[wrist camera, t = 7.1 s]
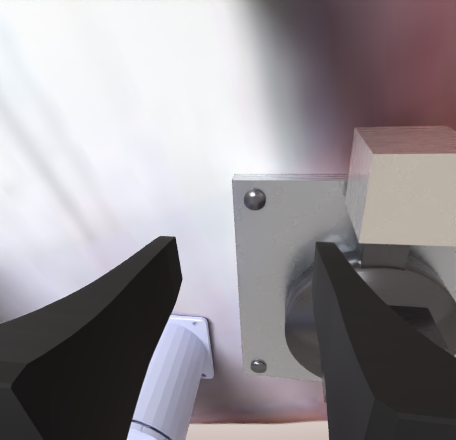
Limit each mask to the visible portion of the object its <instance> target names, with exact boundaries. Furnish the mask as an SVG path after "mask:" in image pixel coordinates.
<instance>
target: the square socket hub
mask: <svg viewBox="0 0 456 440" xmlns="http://www.w3.org/2000/svg"><path fill="white" fill-rule="evenodd" d="M345 204H346V207H347V210H348V213H349V216H350V219H351V221H352V224H353V227H354V230H355V233H356V236H357V243H356V249H355V250H353V251H348V252H343V253H342V254H343V255H344V256H345V258H346V259H347V260H348V262H349V263H350V264H351V265H352V267H353V268H354V269H355V270H356V272H357V273H358V274H359V275H360V276H361V278H362V279H363V280H364V281H365V282H366V283H367V284H368V286H369V287H370V288H371V289H372V290H373V291H374V292H375V293H376V294H377V295H378V296H379V297H380V298H381V299H382V300H383V301H384V302H385V303H386V304H387V305H388V306H389V307H390V308H391V309H392V310H394V311H395V312H396V313H397V314H398V315H399V316H400V317H402V318H403V319H404V320H405V321H406V322H407V323H409V324H410V325H411V326H412V327H414V328H415V329H416V330H418V331H419V332H420V333H422V334H423V335H424V336H426V337H427V338H428V339H430V340H431V341H432V342H434V343H435V344H437V345H438V346H439V347H441V348H442V349H444V350H445V351H447V352H448V353H450V354H451V355H453V356H455V354H456V302H455V300H454V299H453V297H452V295H451V294H450V292H449V291H448V289H447V287H446V286H445V284H444V283H443V281H442V279H441V278H440V277H439V276H438V275H437V273H436V272H435V271H433V270H432V269H431V268H430V267H429V266H427V265H426V264H424V263H423V262H421V261H419V260H417V259H415V258H413V257H411V256H408V254H409V251H410V247H411V245H427V246H455V247H456V131H455V130H453V129H451V128H449V127H448V126H400V127H355V128H354V136H353V144H352V151H351V159H350V167H349V174H348V182H347V190H346V197H345ZM313 267H314V265H312V266H310V267H309V268H308V269H307V270H305V271H304V272H303V273H302V274H301V275H300V276H299V277H298V278H297V279H296V280H295V282H294V283H293V284H292V286H291V288H290V290H289V292H288V294H287V298H286V302H285V339H286V343H287V346H288V348H289V350H290V352H291V354H292V355H293V357H294V358H295V359H296V360H297V361H298V363H299V364H301V365H302V366H303V367H304V368H305V369H307V370H308V371H309V372H311V373H312V374H314V375H316V376H318V377H320V378H322V382H323V392H324V402H327V401H326V388H325V379H324V371H323V365H322V359H321V354H320V348H319V342H318V337H317V331H316V325H315V319H314V314H313V300H312V279H313Z"/></svg>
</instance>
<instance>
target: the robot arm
mask: <svg viewBox="0 0 456 440" xmlns="http://www.w3.org/2000/svg"><path fill="white" fill-rule="evenodd" d="M181 283H182V273H181V267H180V261H179V256H178V250H177V244H176V238H175V237H169V236H160V237H158V238H156V239H155V240H153V241H152V242H151V243H149V244H148V245H146V246H145V247H144V248H142V249H141V250H140V251H138V252H137V253H135V254H134V255H133V256H131V257H130V258H129V259H127V260H126V261H124V262H123V263H122V264H120V265H119V266H117V267H116V268H114V269H112V270H111V271H109V272H108V273H106V274H105V275H103V276H102V277H100V278H99V279H97V280H95V281H94V282H92V283H90V284H89V285H87V286H85V287H83V288H82V289H80V290H78V291H76V292H74V293H72V294H70V295H68V296H67V297H64V298H62V299H60V300H58V301H56V302H54V303H52V304H49V305H47V306H45V307H43V308H41V309H39V310H36V311H34V312H31V313H29V314H26V315H24V316H21V317H19V318H16V319H14V320H11V321H8V322H6V323H3V324H0V440H185V438H186V434H187V431H188V427H189V423H190V419H191V415H192V411H193V407H194V403H195V399H196V395H197V391H198V387H199V383H200V379H201V378H204V379H212V378H213V377H214V368H213V360H212V352H211V345H210V337H209V329H208V322H207V320H206V319H205V318H203V317H191V316H178V315H171V313H172V310H173V308H174V306H175V303H176V300H177V297H178V294H179V290H180V286H181ZM312 300H313V314H314V319H315V325H316V331H317V337H318V342H319V348H320V354H321V359H322V365H323V371H324V379H325V388H326V401H327V414H328V428H329V440H456V357H454V356H453V355H451V354H450V353H448V352H447V351H445V350H444V349H442V348H441V347H439V346H438V345H437V344H435V343H434V342H432V341H431V340H430V339H428V338H427V337H426V336H424V335H423V334H422V333H420V332H419V331H418V330H416V329H415V328H414V327H412V326H411V325H410V324H409V323H407V322H406V321H405V320H404V319H403V318H402V317H400V316H399V315H398V314H397V313H396V312H395V311H394V310H392V309H391V308H390V307H389V306H388V305H387V304H386V303H385V302H384V301H383V300H382V299H381V298H380V297H379V296H378V295H377V294H376V293H375V292H374V291H373V290H372V289H371V288H370V287H369V286H368V284H367V283H366V282H365V281H364V280H363V279H362V278H361V276H360V275H359V274H358V273H357V272H356V270H355V269H354V268H353V267H352V265H351V264H350V263H349V262H348V260H347V259H346V258H345V256H344V255H343V254H342V252H341V251H340V249H339V248H338V246H337V245H336V244H335V243H334V242H316V244H315V256H314V267H313V279H312ZM196 322H197V323H196Z"/></svg>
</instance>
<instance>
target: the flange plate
mask: <svg viewBox="0 0 456 440" xmlns="http://www.w3.org/2000/svg"><path fill="white" fill-rule="evenodd" d="M347 182H348V174H234V176H233V179H232V189H233V206H234V222H235V239H236V256H237V273H238V290H239V307H240V324H241V340H242V357H243V374H251V375H260V376H270V377H279V378H289V379H298V380H308V381H317V382H322V378H320V377H318V376H316V375H314V374H312V373H311V372H309V371H308V370H307V369H305V368H304V367H303V366H302V365H301V364H299V363H298V361H297V360H296V359H295V358H294V357H293V355H292V354H291V352H290V350H289V348H288V346H287V343H286V339H285V302H286V298H287V294H288V292H289V290H290V288H291V286H292V284H293V283H294V282H295V280H296V279H297V278H298V277H299V276H300V275H301V274H302V273H303V272H304V271H305V270H307V269H308V268H309V267H310V266H312V265H314V256H315V244H316V242H334V243H335V244H336V245H337V246H338V248H339V249H340V251H341V252H342V253H343V252H348V251H353V250H355V249H356V243H357V236H356V233H355V230H354V227H353V224H352V221H351V219H350V216H349V213H348V210H347V207H346V204H345V197H346V190H347ZM408 256H411V257H413V258H415V259H417V260H419V261H421V262H423V263H424V264H426V265H427V266H429V267H430V268H431V269H432V270H433V271H435V272H436V273H437V275H438V276H439V277H440V278H441V279H442V281H443V283H444V284H445V286H446V287H447V289H448V291H449V292H450V294H451V295H452V297H453V299H454V300H455V302H456V247H455V246H427V245H411V247H410V251H409V254H408ZM454 357H456V354H455V356H454Z"/></svg>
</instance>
